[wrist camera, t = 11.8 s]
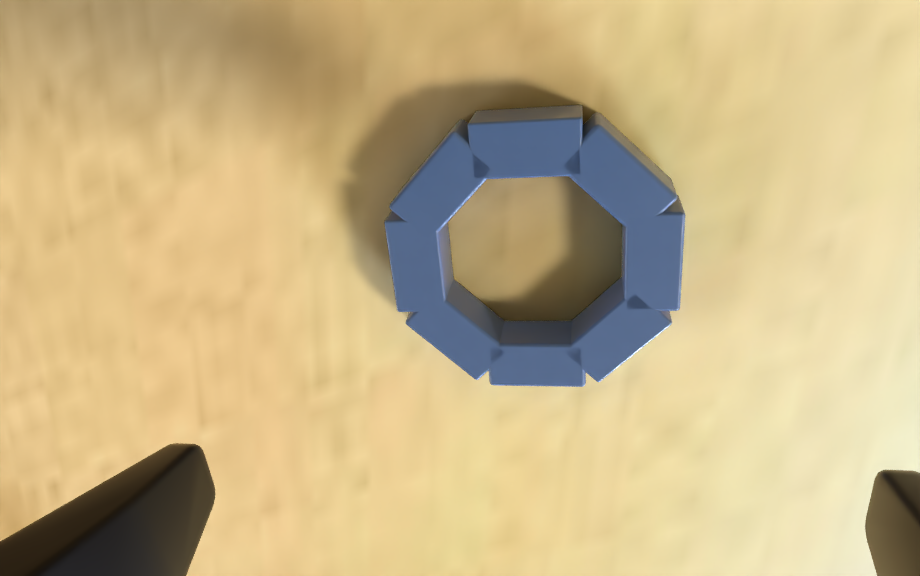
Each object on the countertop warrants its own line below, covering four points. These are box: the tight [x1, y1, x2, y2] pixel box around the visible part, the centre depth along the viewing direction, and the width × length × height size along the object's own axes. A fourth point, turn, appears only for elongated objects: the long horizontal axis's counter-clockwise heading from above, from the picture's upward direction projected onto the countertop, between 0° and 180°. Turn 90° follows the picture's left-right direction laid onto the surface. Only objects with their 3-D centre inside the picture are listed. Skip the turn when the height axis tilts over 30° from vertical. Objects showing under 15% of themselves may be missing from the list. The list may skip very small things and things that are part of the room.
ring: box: [384, 105, 685, 387], centre depth 16 cm, size 6×6×1 cm
